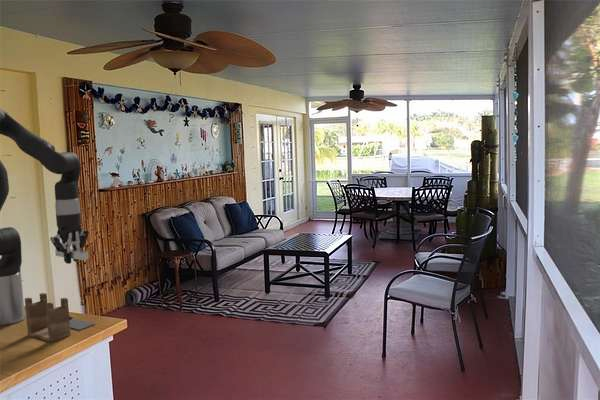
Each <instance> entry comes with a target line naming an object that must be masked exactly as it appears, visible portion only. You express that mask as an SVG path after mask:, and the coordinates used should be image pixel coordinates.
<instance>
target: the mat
mask: <svg viewBox="0 0 600 400" xmlns="http://www.w3.org/2000/svg"><path fill="white" fill-rule="evenodd" d="M95 325H96V323H93V322H90V321H86V320H81V319H78V318H73V319H72V320H70V330H71V329H72V330H75V331H78V332H81V331H83V330H86V329H87V328H90V327H92V326H93V327H94V326H95Z"/></svg>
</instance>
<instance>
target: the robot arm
mask: <svg viewBox="0 0 600 400" xmlns="http://www.w3.org/2000/svg"><path fill="white" fill-rule="evenodd" d="M0 135H2V136H5V137H7V138H9V139H10V140H13V142H14V143H15V144H16V146H18V147H17V148H19V150H21V151H22V152H24V153H25V154H26V155H28V156H30V157H31V158H33V159H35V160H36V161H38V162H39V163H40V164H41V165H42V166H43V167H44V168H45V169H46V170H47V171H49V172H51V173H53V174H56V175H60V176H61V178H60V180H59V181H57V182H55V184H54V198H55V202H54V204H55V205H54V207H55V208H54V209H55V220H56V227H57V232H56V235H54V236H51V237H50V238H49V239H50V240H49V241H51V243H52V244H53V246H54V249H57V251H58V252H63V253H64V257H63V260H64V263H65V264H67V265H69V264H72V260H73V262H75V263H77V262H80V260H78V259H72V258H71V253H70V249H74V250H81V249H82V248H85V245H86V242H87V240H88V236H89V234H90V231H89V230H84V229H83V228H82V226H81V225H82V214H81V203H80V198H79V188H78V184H79V181H80V175H81V174H80V173H81V166H82V165H81V164H82V163H81V160H80V158H79V156H78V155H77V154H76V153H74V152H73V151H72V152H71V151H67V152H66V151H65V152H58V151H57V150H56V147H55V145H54V144H52V143H51V142H50V141H47V140H46V139H44V138H43V137H41V136H40V135H37V134H35V133H34V132H32V131H31V130H29V129H27V128H26V127H25V126H23V125H22V124H20V123H19V122H18V121H17V120H16V119H14V118H13V117H12V116H11V115H10V114H8V113H7V112H6V111H4V110H3V109H1V108H0ZM8 175H9V174H8V171H7V168H6V166H5V165H4V163H3V162H2V161H1V159H0V212H1V211H2V208H3V206H4V204H5V203H6V200H7V199H8V195H9V192H10V186H9V185H10V184H9V178H8ZM71 247H72V248H71ZM22 263H23V259H22V240H21V235H20V233H19V231H18V230H17V229H16V228H15V227H12V226H11V227H10V226H9V227H3V228H0V326H1V325H10V324H11V325H12V324H17V323H18V322H21V321H23V320H25V319H26V311H25V300H24V293H23V284H22V283H23V282H22V272H21V267H22Z"/></svg>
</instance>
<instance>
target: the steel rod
mask: <svg viewBox="0 0 600 400" xmlns="http://www.w3.org/2000/svg"><path fill="white" fill-rule="evenodd" d="M54 249H55V256H56V257H61V258H64V253H63V252H58V251H57V249H56V248H54ZM70 253H71V260H73V259H78V260H79V261H85V260H89V259H90V254H89V251H88V250H87V251H86V250H81V249H80V250H74V249H72V248H70Z"/></svg>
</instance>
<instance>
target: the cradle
mask: <svg viewBox="0 0 600 400" xmlns="http://www.w3.org/2000/svg"><path fill="white" fill-rule="evenodd" d="M24 309H25V319H26V326H27V328H26V329H27V335H28V336H31V337H33V338H38V339H41V340H44V341H46V342H50V343H56V342H57V341H59V340H63V339H64V338H67V337H70V336H71V335H72V333H71V328H70V321H71V320H70V318H69V316H70V312H69V311H70V310H69V299H68V297H62V298H60V306H57V307H54V303H52V302H48V295H47V293H45V292H41V293H39V301H36V302H33V298H32V297H25V298H24Z"/></svg>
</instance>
